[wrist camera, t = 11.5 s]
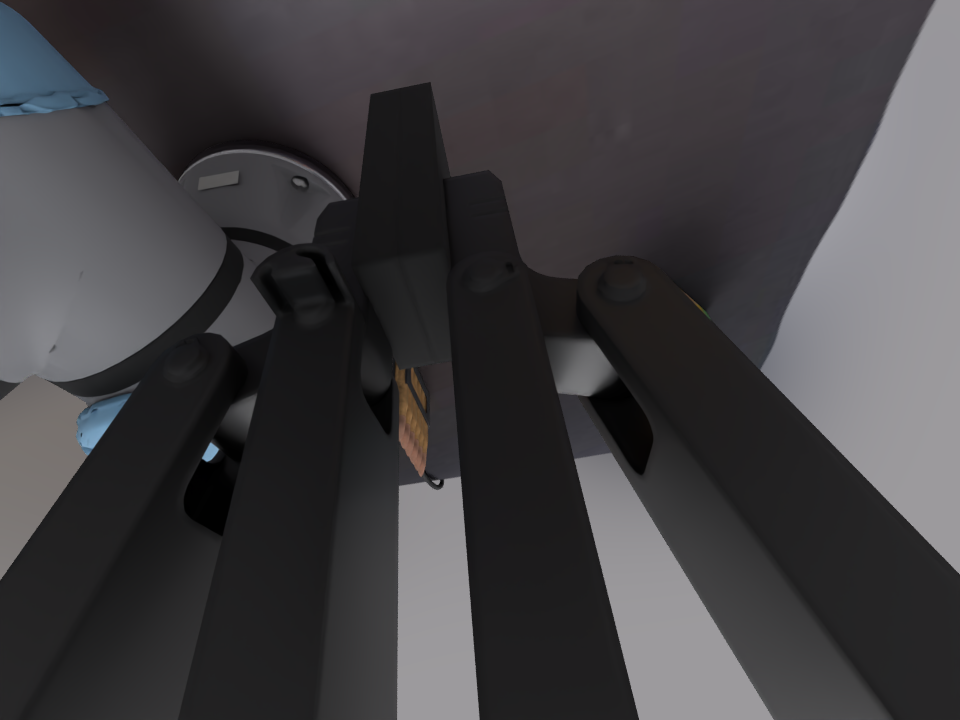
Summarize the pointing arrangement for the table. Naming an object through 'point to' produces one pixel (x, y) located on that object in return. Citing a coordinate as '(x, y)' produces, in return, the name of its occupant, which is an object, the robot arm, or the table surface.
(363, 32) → the table surface
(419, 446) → the ammunition clip
